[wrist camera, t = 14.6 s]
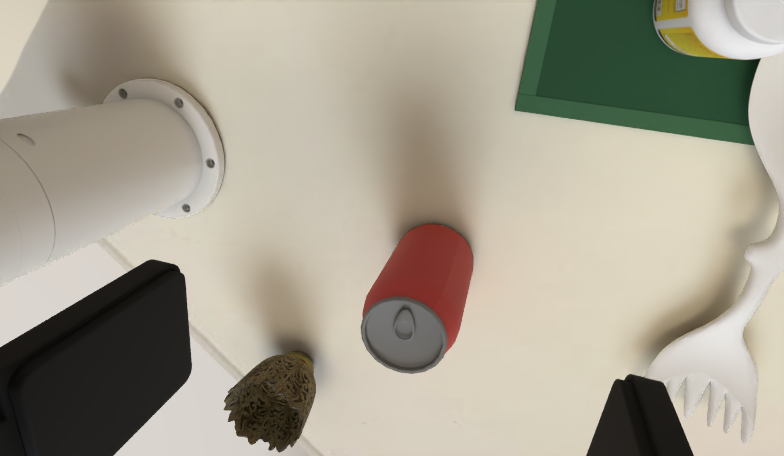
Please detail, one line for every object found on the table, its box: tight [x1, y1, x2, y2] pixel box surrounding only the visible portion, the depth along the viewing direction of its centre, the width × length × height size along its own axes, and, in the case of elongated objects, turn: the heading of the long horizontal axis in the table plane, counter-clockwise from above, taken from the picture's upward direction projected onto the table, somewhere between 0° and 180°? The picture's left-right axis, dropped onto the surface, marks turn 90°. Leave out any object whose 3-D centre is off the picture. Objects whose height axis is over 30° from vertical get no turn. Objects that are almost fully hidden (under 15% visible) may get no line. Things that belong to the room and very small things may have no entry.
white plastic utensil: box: [644, 52, 784, 444], centre depth 31 cm, size 9×32×4 cm, turn 174°
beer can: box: [361, 224, 473, 374], centre depth 35 cm, size 7×7×12 cm
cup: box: [224, 351, 316, 452], centre depth 45 cm, size 8×7×8 cm
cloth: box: [515, 0, 761, 145], centre depth 29 cm, size 20×16×1 cm
